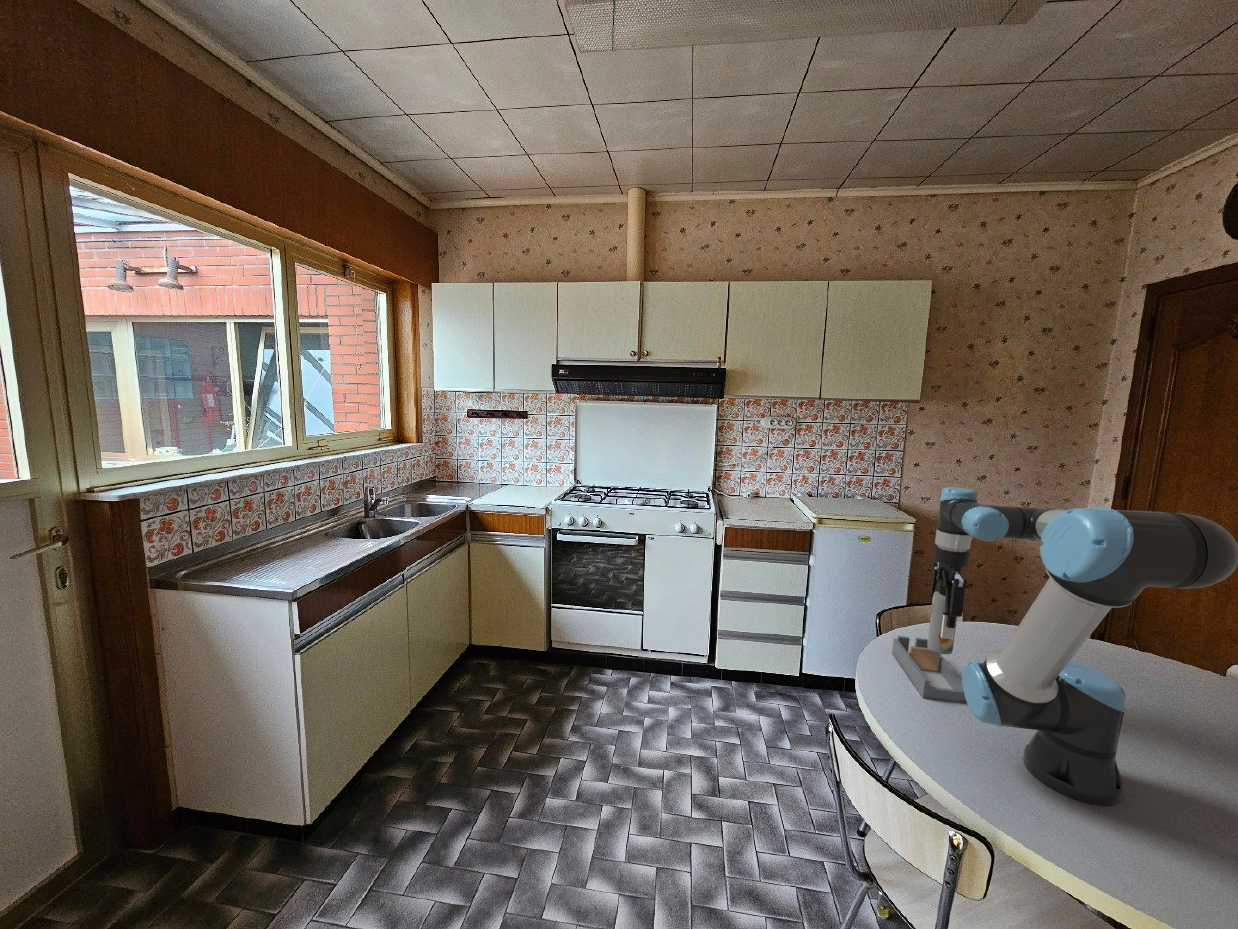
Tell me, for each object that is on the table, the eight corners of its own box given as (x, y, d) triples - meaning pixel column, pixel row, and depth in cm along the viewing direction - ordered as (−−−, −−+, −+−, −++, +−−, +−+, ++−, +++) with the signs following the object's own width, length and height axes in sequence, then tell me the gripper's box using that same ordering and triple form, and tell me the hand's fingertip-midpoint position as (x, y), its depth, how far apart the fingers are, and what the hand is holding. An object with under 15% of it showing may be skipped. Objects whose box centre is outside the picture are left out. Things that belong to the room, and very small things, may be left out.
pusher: (938, 671, 140) (940, 651, 139) (909, 668, 141) (912, 648, 140) (927, 658, 147) (930, 639, 146) (900, 655, 148) (902, 636, 147)
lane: (965, 704, 127) (968, 682, 127) (922, 698, 129) (925, 677, 128) (928, 657, 150) (930, 639, 149) (892, 653, 152) (894, 635, 151)
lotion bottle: (957, 655, 129) (967, 581, 126) (935, 654, 129) (944, 581, 126) (943, 644, 135) (952, 573, 132) (922, 643, 135) (930, 573, 132)
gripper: (987, 560, 118) (975, 651, 122) (951, 538, 136) (941, 618, 140) (952, 557, 120) (941, 648, 123) (921, 536, 138) (912, 615, 141)
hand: (941, 632), depth 131 cm, fingers closed on lotion bottle, 5 cm apart
